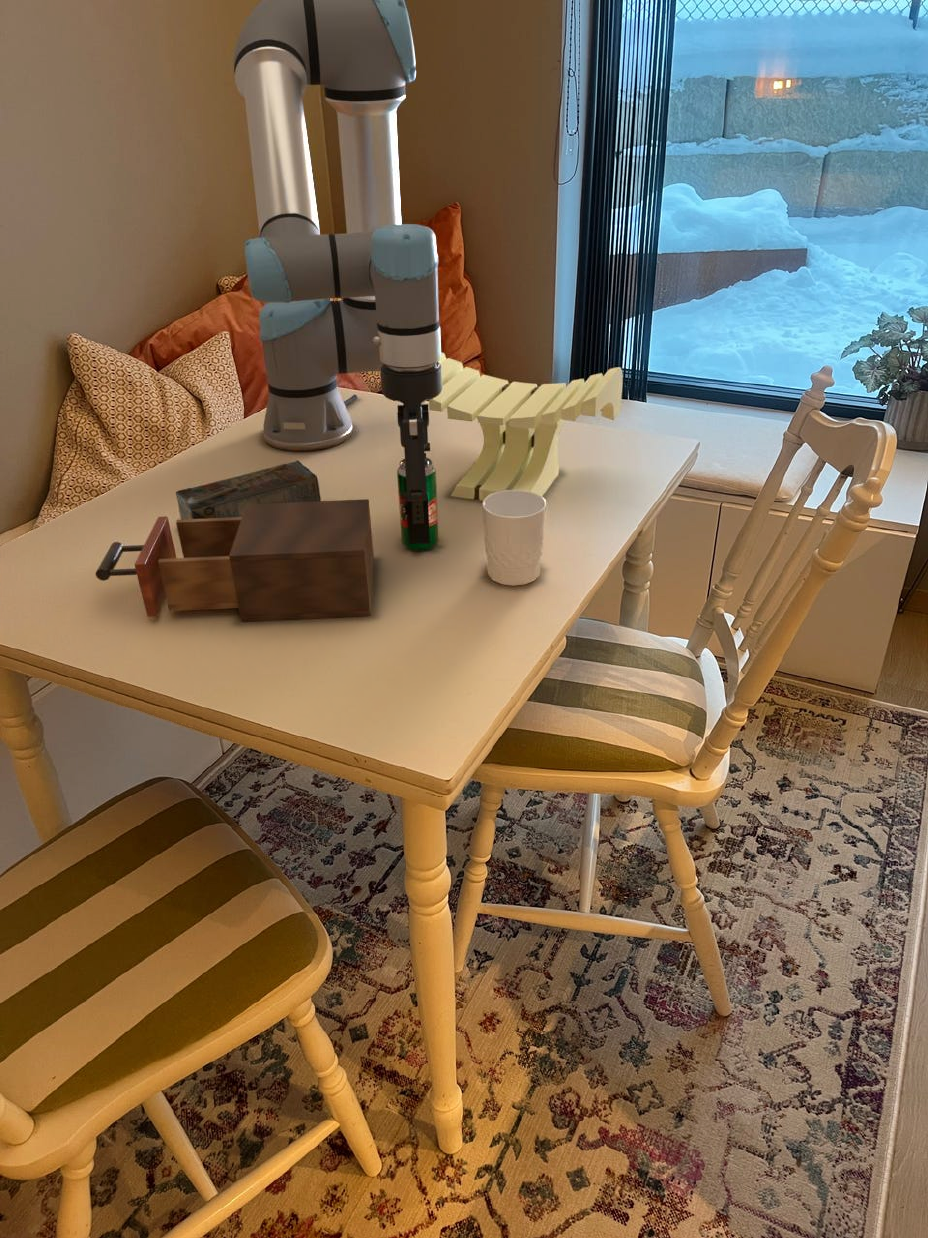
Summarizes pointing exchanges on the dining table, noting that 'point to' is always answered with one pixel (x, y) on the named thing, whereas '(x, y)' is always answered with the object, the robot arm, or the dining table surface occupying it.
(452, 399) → the slatted curved stool
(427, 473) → the soda can
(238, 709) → the dining table surface
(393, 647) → the dining table surface
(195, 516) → the beverage carton
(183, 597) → the drawer
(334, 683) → the dining table surface
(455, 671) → the dining table surface
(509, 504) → the white cup
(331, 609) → the cabinet
